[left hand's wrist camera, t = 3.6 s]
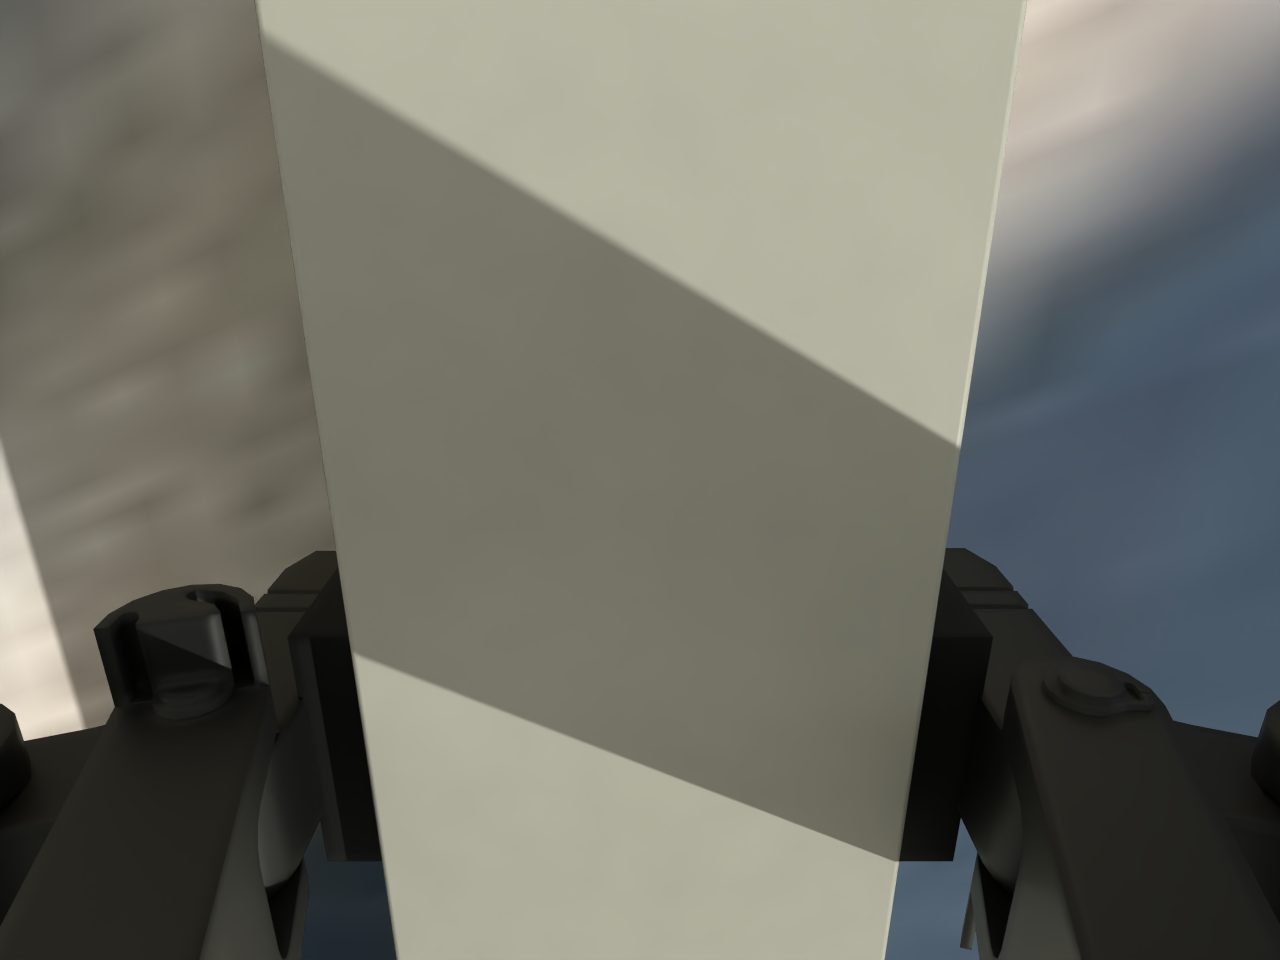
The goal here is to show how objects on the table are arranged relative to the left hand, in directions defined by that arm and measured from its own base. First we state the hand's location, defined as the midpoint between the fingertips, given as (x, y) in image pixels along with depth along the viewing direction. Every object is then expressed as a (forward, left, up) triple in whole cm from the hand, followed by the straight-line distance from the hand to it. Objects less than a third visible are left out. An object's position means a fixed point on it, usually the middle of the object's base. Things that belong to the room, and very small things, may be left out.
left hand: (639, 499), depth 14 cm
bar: (+7, +23, -1) cm, 24 cm away
